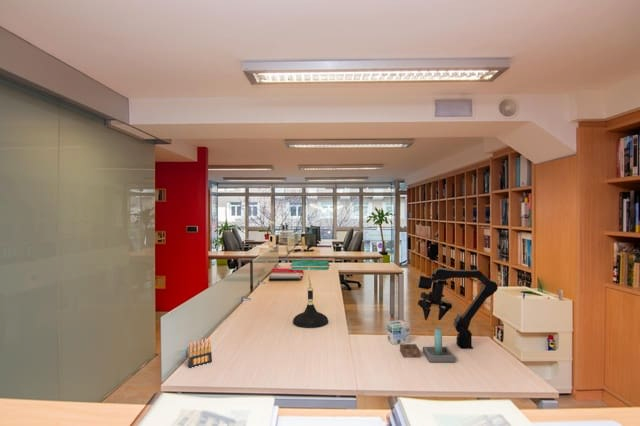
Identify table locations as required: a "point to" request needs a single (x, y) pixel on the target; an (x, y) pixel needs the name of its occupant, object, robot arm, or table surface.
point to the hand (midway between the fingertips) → (432, 320)
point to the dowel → (438, 342)
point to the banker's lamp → (310, 296)
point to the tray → (445, 358)
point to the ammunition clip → (199, 353)
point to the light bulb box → (398, 332)
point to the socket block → (409, 350)
